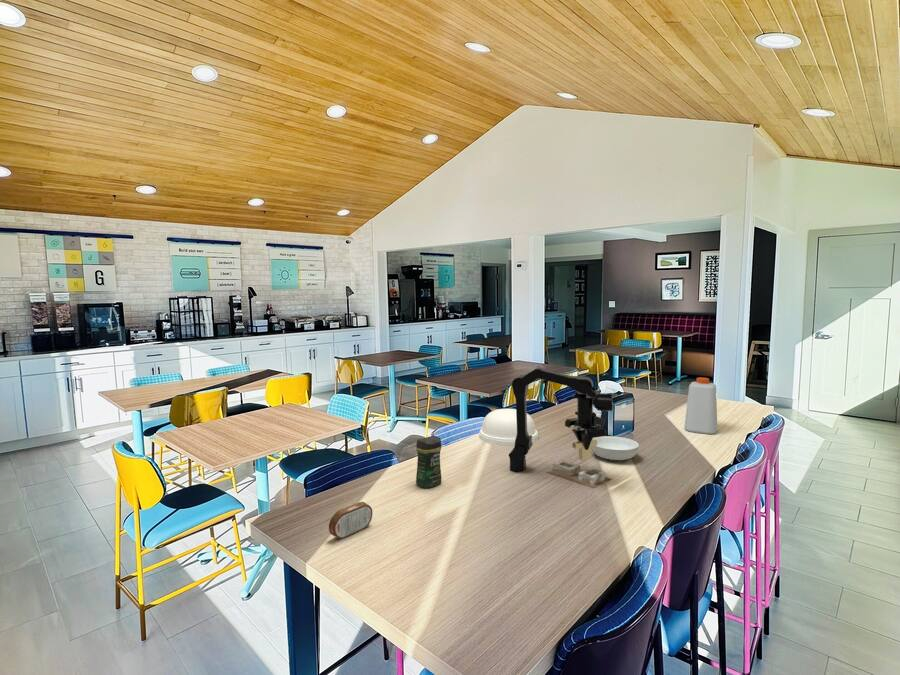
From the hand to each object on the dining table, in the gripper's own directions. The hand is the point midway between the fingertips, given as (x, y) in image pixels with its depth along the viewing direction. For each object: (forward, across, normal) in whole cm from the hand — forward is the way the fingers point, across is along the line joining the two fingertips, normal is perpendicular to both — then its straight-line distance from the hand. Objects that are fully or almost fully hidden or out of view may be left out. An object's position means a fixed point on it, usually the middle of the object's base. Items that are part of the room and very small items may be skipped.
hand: (584, 448), depth 190 cm
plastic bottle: (+14, +34, -100) cm, 107 cm away
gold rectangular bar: (+4, 0, 0) cm, 4 cm away
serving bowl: (+13, +17, -28) cm, 36 cm away
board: (+12, +2, +1) cm, 13 cm away
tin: (+12, -8, +93) cm, 94 cm away
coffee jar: (+12, +19, +58) cm, 62 cm away
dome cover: (+12, +62, +1) cm, 63 cm away
